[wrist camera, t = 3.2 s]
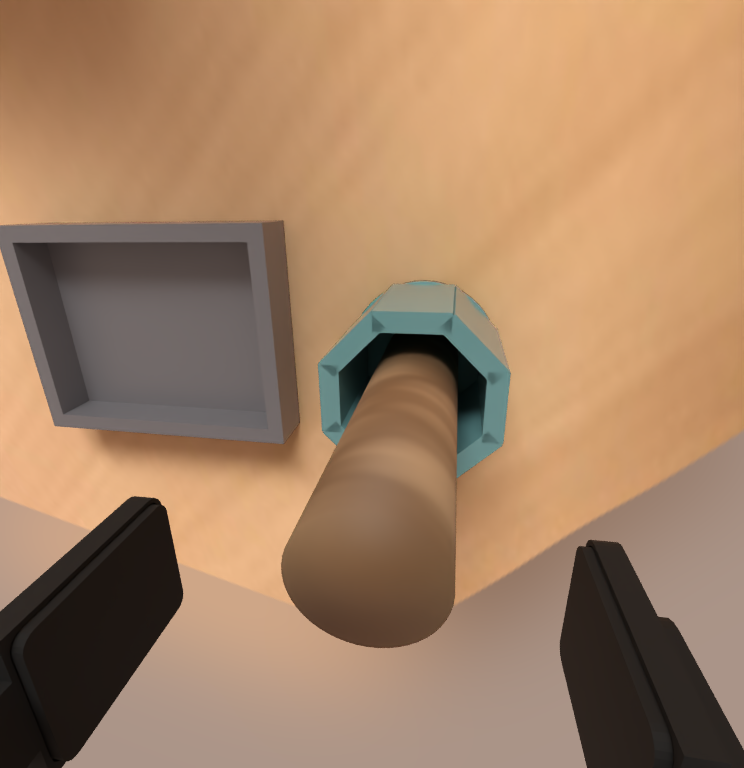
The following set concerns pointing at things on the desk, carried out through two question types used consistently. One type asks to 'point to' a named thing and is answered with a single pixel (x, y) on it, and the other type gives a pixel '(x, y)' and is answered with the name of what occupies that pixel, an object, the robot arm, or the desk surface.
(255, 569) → the desk surface
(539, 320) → the desk surface
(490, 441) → the cup
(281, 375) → the tray
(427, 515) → the dowel
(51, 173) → the desk surface
